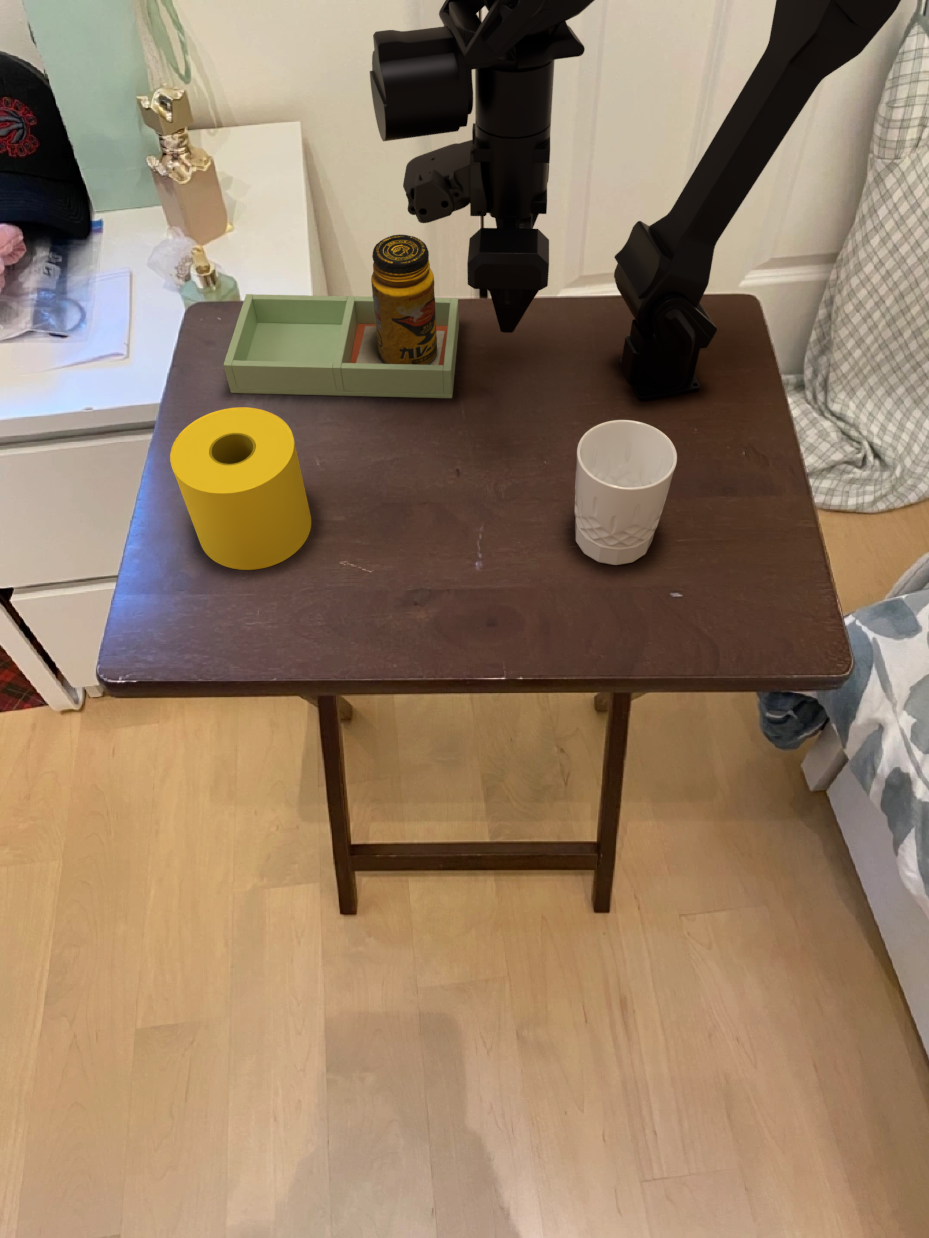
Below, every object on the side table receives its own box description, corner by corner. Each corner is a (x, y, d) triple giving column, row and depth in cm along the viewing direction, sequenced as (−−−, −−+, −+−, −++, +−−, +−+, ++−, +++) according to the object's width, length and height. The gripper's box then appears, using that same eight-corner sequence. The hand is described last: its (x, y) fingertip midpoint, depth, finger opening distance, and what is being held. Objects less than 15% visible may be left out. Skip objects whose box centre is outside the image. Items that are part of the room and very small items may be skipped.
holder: (458, 326, 100) (458, 298, 97) (452, 398, 93) (451, 370, 90) (252, 322, 101) (245, 294, 98) (230, 393, 94) (223, 365, 92)
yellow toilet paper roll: (209, 486, 87) (182, 408, 79) (316, 485, 86) (300, 406, 79) (189, 570, 81) (159, 494, 73) (305, 569, 81) (286, 493, 73)
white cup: (581, 578, 80) (592, 496, 71) (558, 511, 84) (565, 427, 76) (670, 563, 80) (691, 480, 72) (642, 497, 85) (658, 413, 77)
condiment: (436, 378, 94) (431, 272, 84) (353, 373, 95) (338, 267, 85) (445, 333, 98) (441, 227, 89) (365, 328, 99) (353, 223, 89)
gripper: (417, 62, 76) (426, 238, 89) (394, 184, 65) (408, 365, 78) (553, 64, 76) (543, 240, 88) (554, 186, 65) (542, 368, 77)
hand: (508, 299), depth 83 cm, fingers open, 9 cm apart
